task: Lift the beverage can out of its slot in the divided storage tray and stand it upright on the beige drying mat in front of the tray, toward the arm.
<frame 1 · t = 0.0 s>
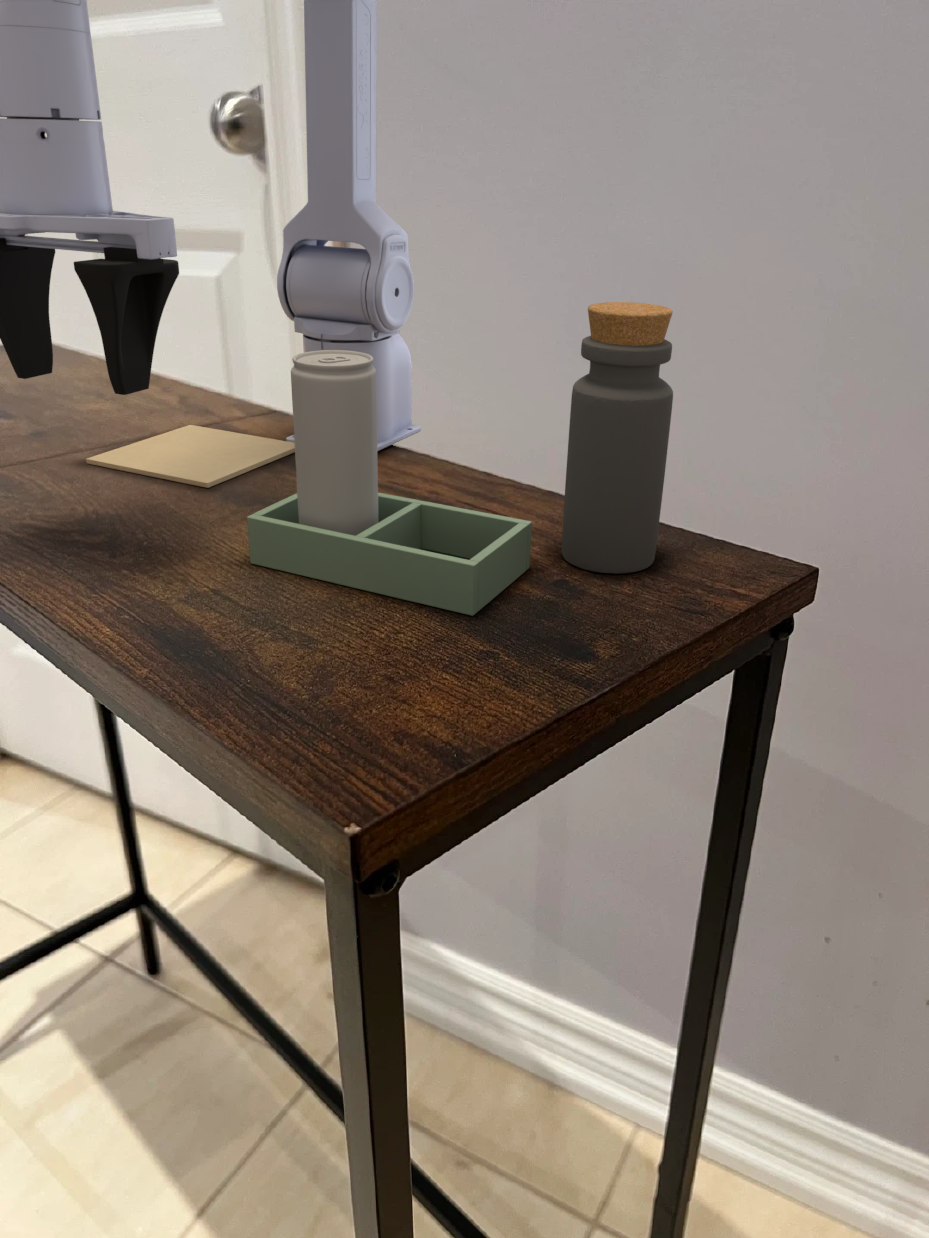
hand: (82, 383, 57), 10 cm above the table, tool pointing down, fingers open, 7 cm apart
divided storage tray: (390, 565, 60), on the table
drying mat: (198, 456, 79), on the table
bottle: (607, 559, 62), on the table
beverage can: (340, 557, 61), resting in divided storage tray
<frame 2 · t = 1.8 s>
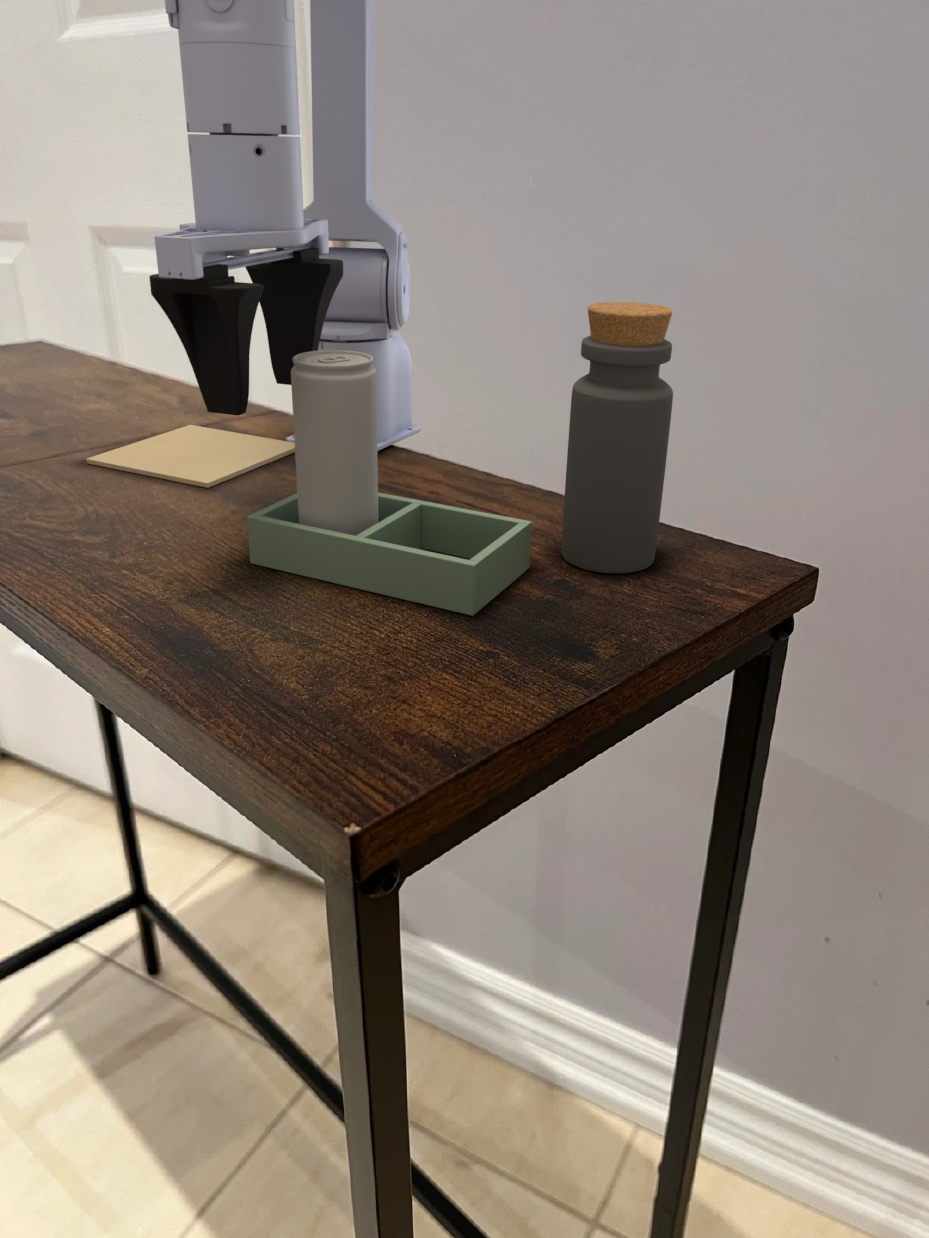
hand: (262, 397, 57), 10 cm above the table, tool pointing down, fingers open, 7 cm apart
nothing on the table moved.
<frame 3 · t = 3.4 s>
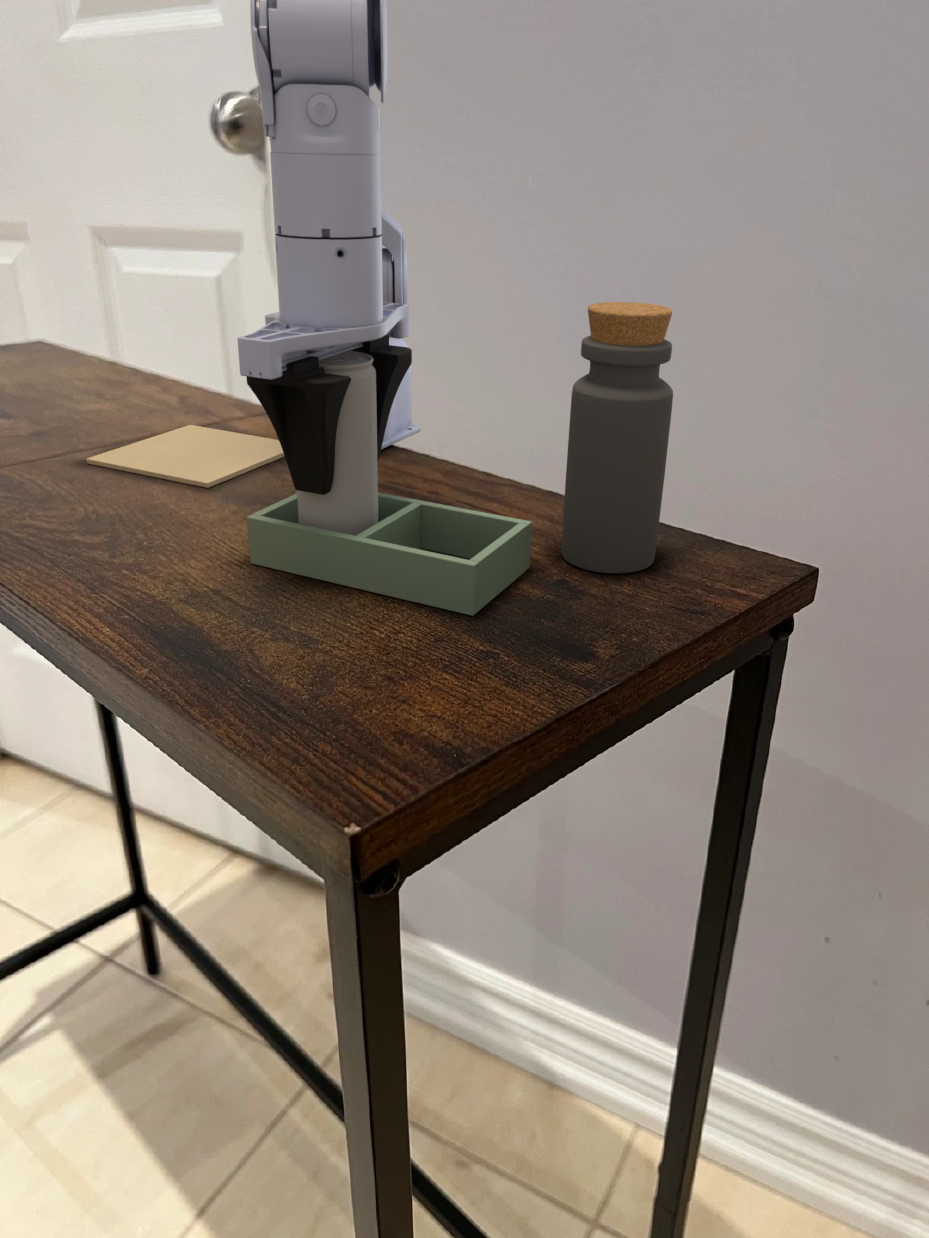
hand: (337, 478, 59), 5 cm above the table, tool pointing down, fingers closed on beverage can, 5 cm apart
beverage can: (340, 557, 61), resting in divided storage tray, touching gripper
everything else where it was.
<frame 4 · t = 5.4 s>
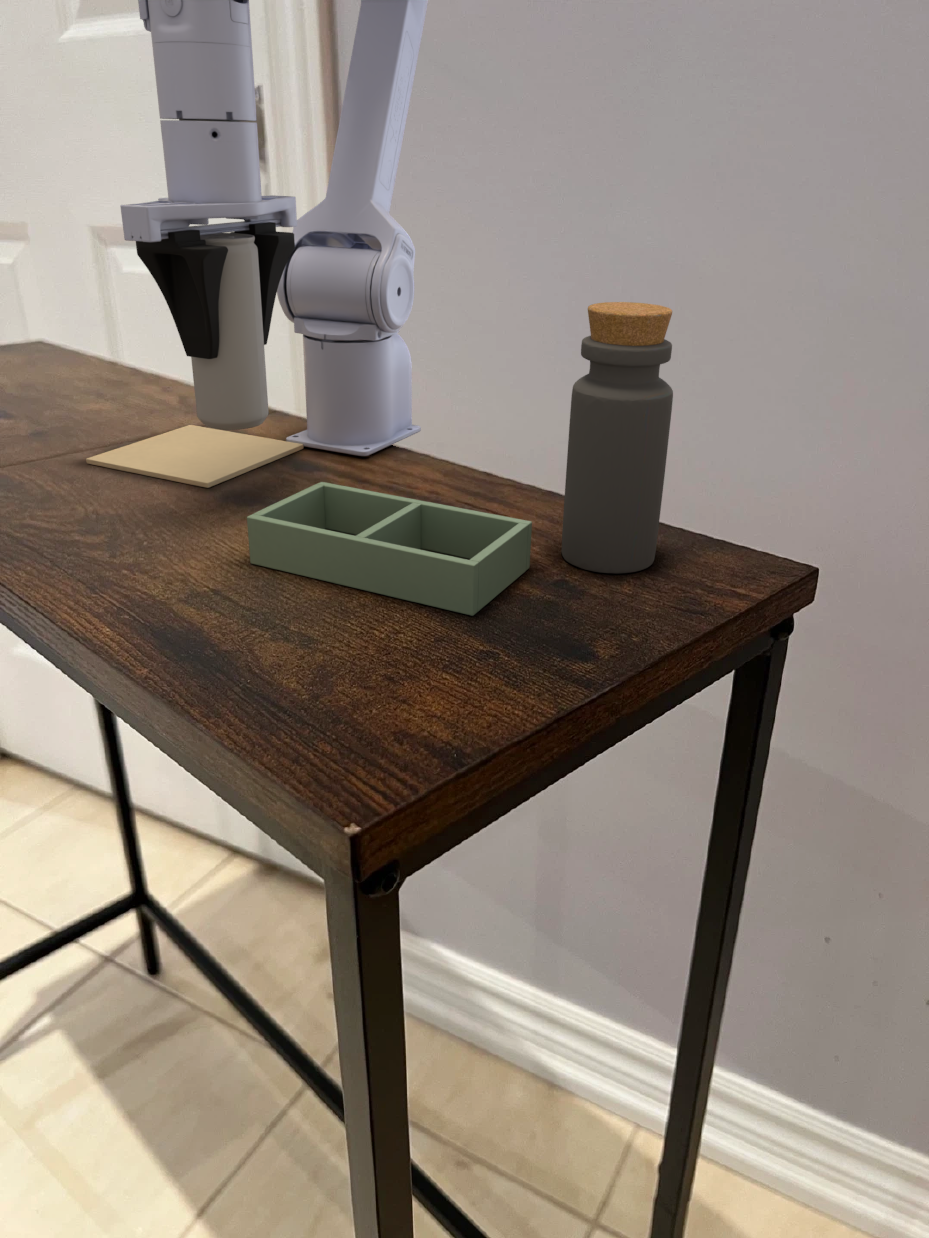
hand: (228, 350, 66), 10 cm above the table, tool pointing down, fingers closed on beverage can, 5 cm apart
beverage can: (234, 425, 68), point 5 cm above the table, touching gripper
everything else where it was.
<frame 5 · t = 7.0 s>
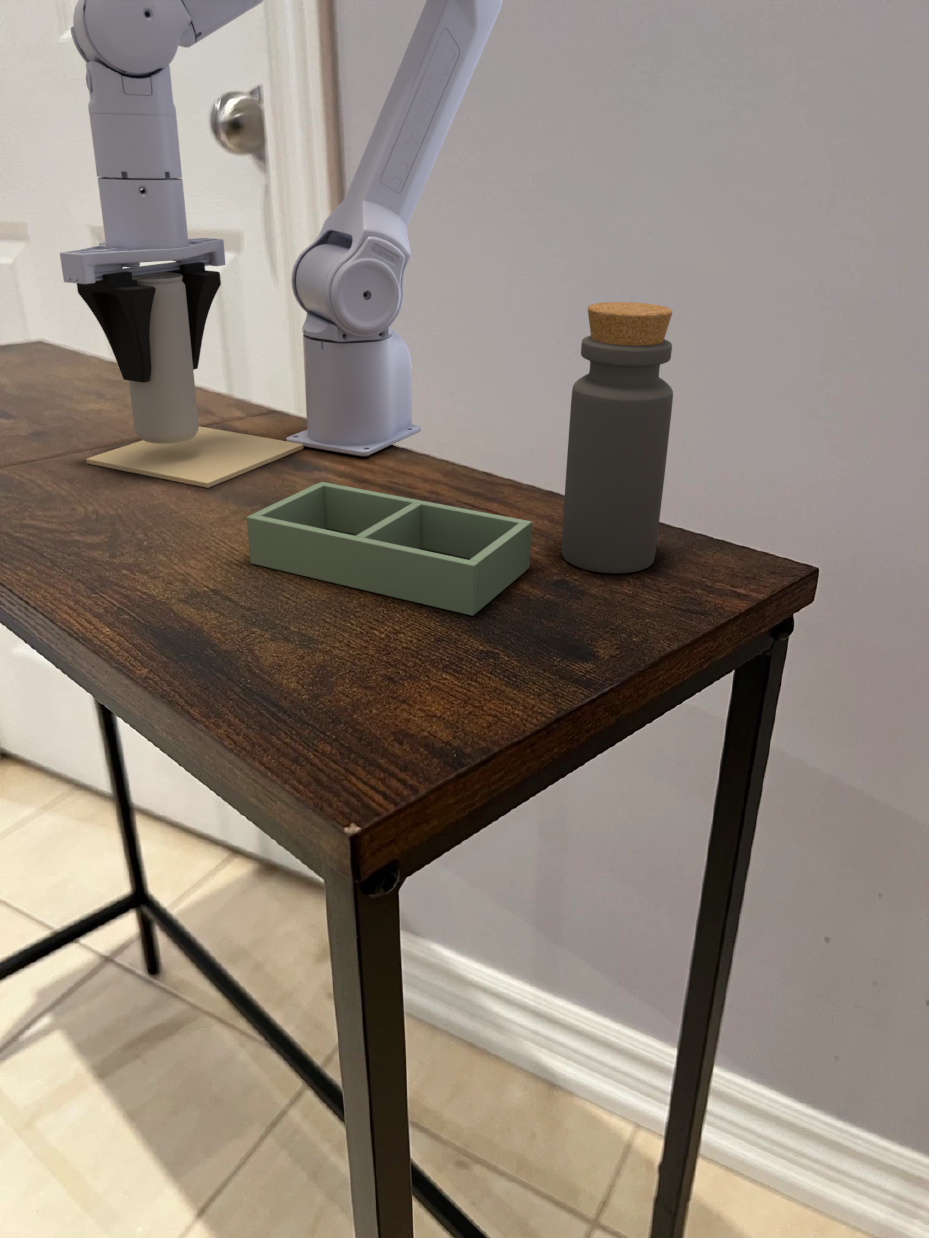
hand: (162, 374, 75), 7 cm above the table, tool pointing down, fingers closed on beverage can, 5 cm apart
beverage can: (168, 439, 77), point 2 cm above the table, touching gripper
everything else where it was.
when the fingers open (5 cm above the table, at t = 8.0 s): beverage can stays where it is, resting on drying mat.
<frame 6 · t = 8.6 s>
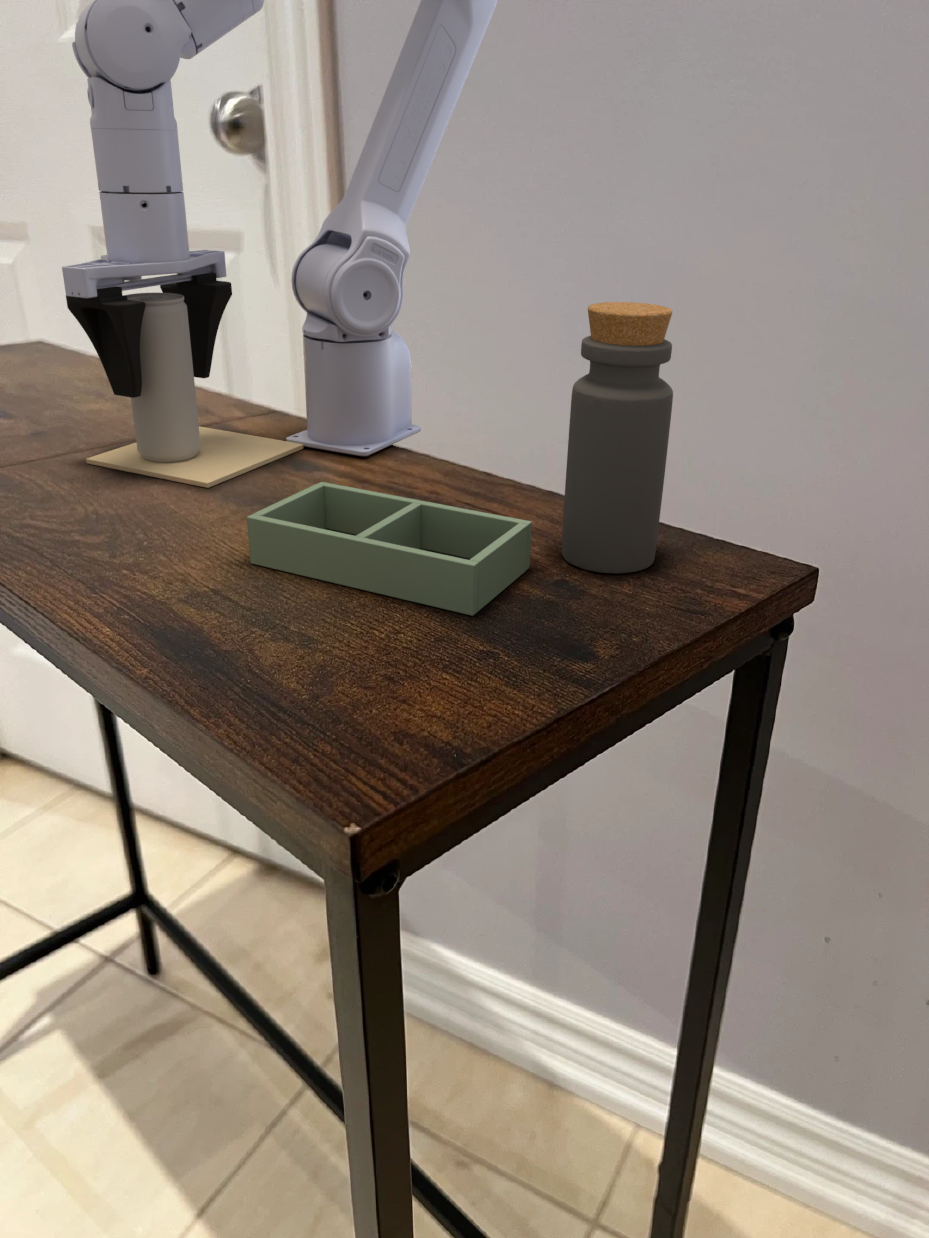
hand: (163, 385, 75), 6 cm above the table, tool pointing down, fingers open, 7 cm apart
beverage can: (170, 457, 78), resting on drying mat
everything else where it was.
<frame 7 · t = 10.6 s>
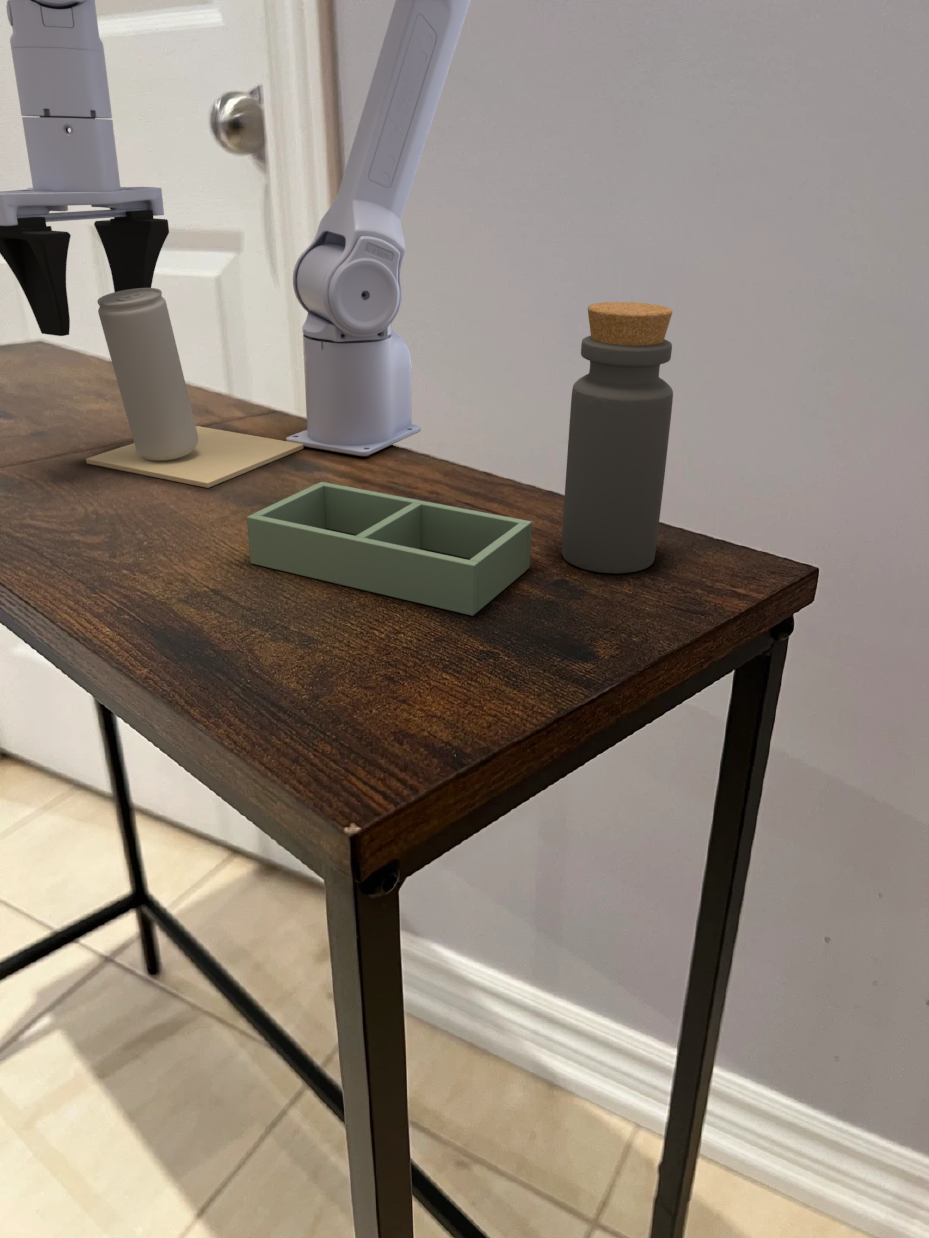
hand: (96, 326, 72), 10 cm above the table, tool pointing down, fingers open, 7 cm apart
beverage can: (170, 453, 78), point 1 cm above the table, touching drying mat, gripper
everything else where it was.
at the end: beverage can inside the target area on the drying mat (0.0 cm from its centre), point 0.6 cm above the drying mat's base; beverage can tilted 8°; beverage can touching drying mat, gripper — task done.
